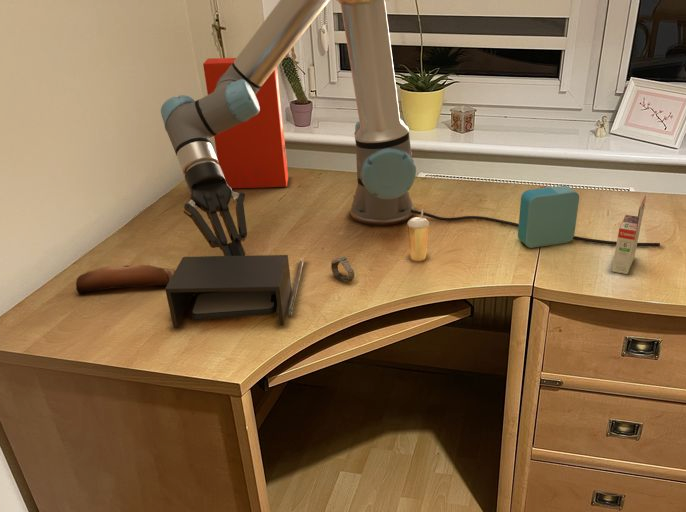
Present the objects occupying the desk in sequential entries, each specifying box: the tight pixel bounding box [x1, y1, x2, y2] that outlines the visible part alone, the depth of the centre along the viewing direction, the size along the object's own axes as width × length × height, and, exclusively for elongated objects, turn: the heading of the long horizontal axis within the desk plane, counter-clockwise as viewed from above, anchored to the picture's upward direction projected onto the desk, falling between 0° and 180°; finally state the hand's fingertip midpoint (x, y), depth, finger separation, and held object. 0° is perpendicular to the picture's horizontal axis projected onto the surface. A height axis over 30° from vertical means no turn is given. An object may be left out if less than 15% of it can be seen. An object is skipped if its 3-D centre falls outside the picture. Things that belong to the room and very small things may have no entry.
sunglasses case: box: [75, 264, 175, 294], centre depth 143 cm, size 18×7×7 cm, turn 99°
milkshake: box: [406, 209, 430, 262], centre depth 151 cm, size 5×5×10 cm
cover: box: [164, 254, 293, 328], centre depth 132 cm, size 20×13×8 cm, turn 91°
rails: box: [287, 260, 305, 318], centre depth 141 cm, size 22×23×1 cm
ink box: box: [610, 194, 647, 275], centre depth 145 cm, size 4×8×15 cm, turn 156°
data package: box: [517, 185, 580, 249], centre depth 156 cm, size 12×4×12 cm, turn 107°
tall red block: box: [202, 57, 289, 190], centre depth 185 cm, size 8×17×32 cm, turn 94°
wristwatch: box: [330, 255, 356, 283], centre depth 143 cm, size 4×6×5 cm, turn 41°
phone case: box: [189, 291, 278, 321], centre depth 135 cm, size 9×2×16 cm
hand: (242, 274), depth 141 cm, fingers closed
